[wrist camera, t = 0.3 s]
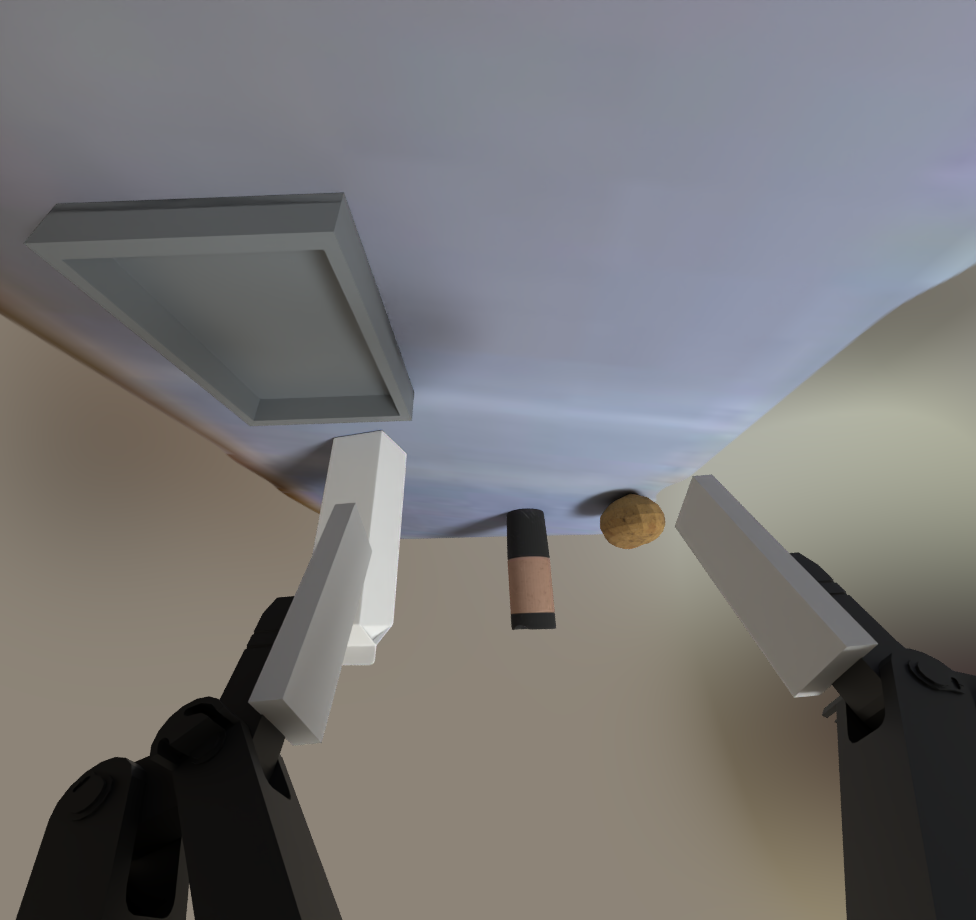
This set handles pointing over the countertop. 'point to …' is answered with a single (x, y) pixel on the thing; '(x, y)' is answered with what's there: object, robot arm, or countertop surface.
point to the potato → (632, 521)
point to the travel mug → (529, 571)
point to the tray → (243, 299)
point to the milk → (369, 528)
